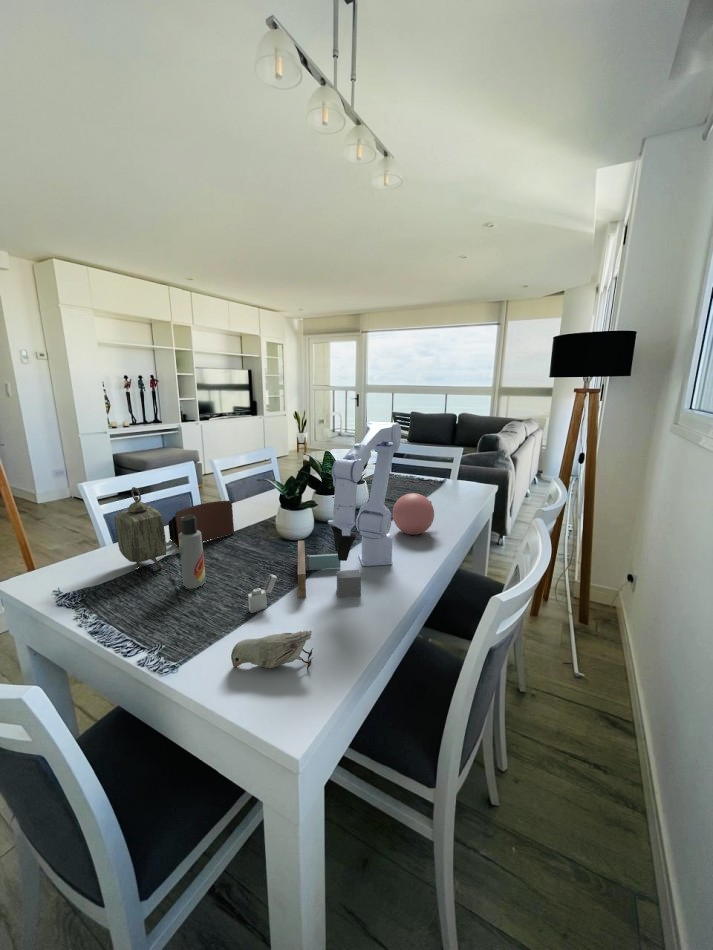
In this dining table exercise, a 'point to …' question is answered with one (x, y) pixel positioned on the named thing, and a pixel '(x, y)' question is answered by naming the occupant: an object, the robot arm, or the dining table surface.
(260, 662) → the decorative bird
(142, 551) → the tabletop clock
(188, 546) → the lotion bottle
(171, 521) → the letter holder
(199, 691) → the dining table surface
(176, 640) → the dining table surface
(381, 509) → the robot arm
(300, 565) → the wooden plank
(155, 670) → the dining table surface
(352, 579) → the block
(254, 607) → the lighter
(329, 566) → the door
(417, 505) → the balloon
